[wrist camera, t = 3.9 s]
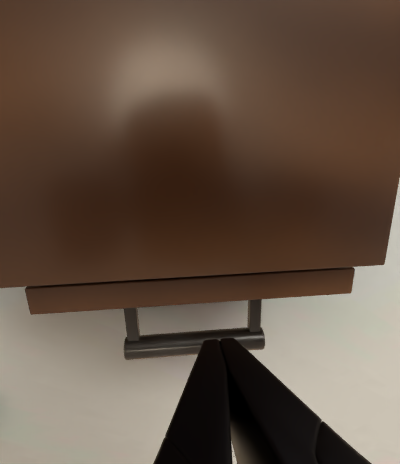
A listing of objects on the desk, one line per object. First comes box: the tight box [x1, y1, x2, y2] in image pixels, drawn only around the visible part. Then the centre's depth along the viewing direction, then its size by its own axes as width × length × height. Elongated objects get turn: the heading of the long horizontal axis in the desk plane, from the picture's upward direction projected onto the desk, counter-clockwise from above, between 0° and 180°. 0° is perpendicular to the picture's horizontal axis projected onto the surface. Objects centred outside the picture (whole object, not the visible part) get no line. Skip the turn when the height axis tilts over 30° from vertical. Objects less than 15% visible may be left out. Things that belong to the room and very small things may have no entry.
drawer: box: [25, 267, 355, 360], centre depth 14 cm, size 21×13×7 cm, turn 1°
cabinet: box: [0, 0, 400, 288], centre depth 13 cm, size 17×15×9 cm
